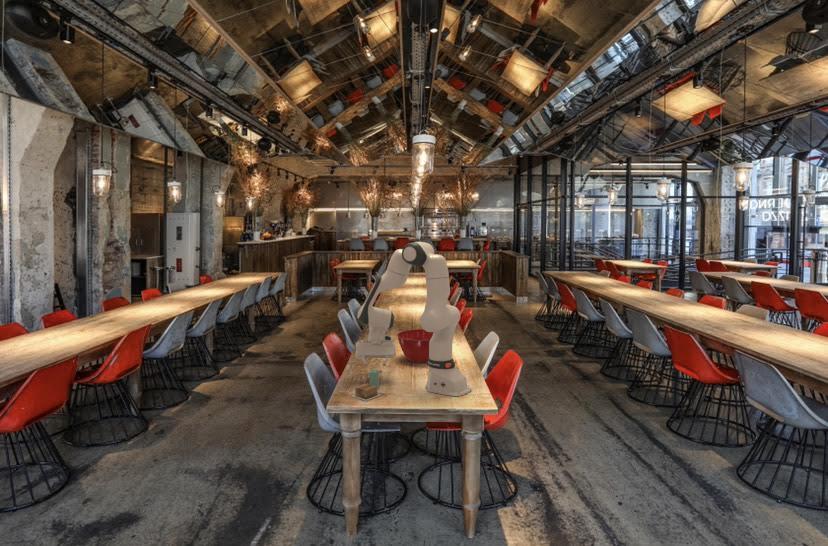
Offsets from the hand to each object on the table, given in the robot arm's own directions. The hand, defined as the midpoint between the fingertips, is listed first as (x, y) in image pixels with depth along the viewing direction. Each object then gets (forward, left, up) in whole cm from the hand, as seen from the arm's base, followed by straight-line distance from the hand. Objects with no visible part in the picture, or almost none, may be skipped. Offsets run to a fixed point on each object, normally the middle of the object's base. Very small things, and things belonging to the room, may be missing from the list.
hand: (375, 365), depth 244 cm
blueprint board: (-10, +15, -9) cm, 20 cm away
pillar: (-4, +4, -9) cm, 11 cm away
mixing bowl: (+10, -48, -10) cm, 50 cm away
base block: (-10, +15, -9) cm, 20 cm away
